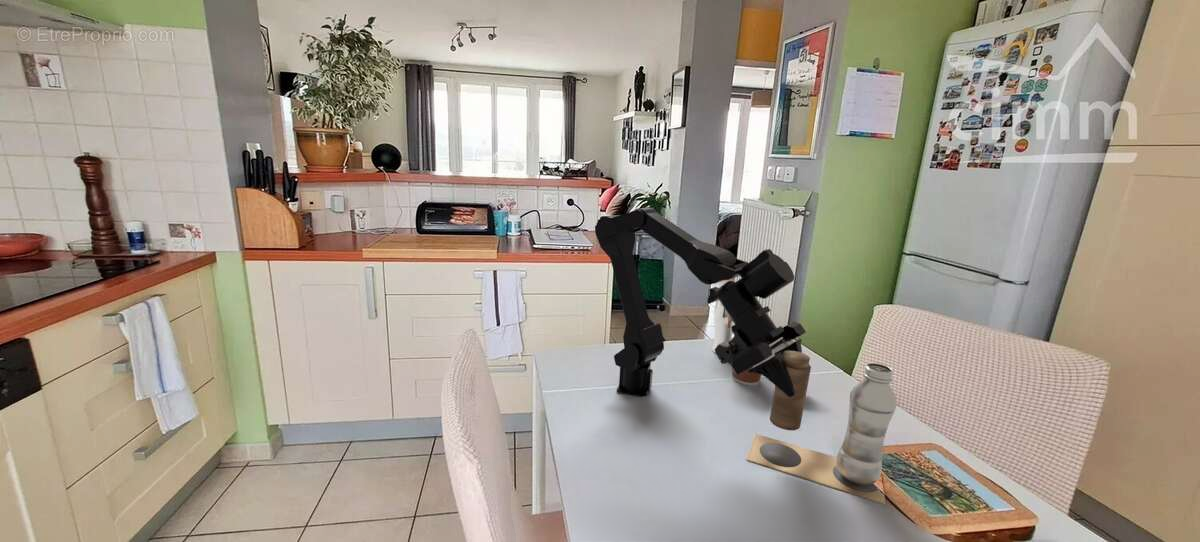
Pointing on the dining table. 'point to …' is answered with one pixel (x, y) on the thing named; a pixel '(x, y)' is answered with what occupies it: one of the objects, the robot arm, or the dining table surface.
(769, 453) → the board
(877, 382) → the plastic bottle
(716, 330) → the white pump bottle
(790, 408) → the pepper mill
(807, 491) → the dining table surface
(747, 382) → the coffee cup
